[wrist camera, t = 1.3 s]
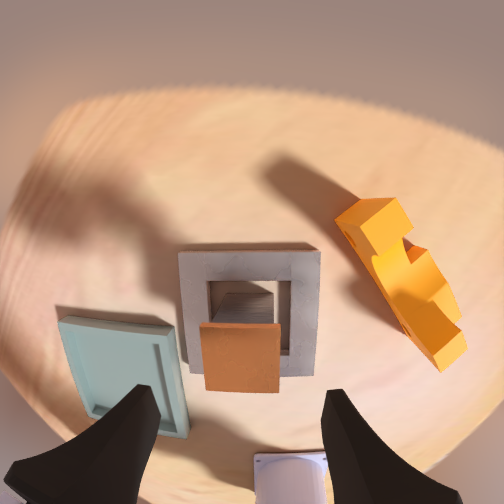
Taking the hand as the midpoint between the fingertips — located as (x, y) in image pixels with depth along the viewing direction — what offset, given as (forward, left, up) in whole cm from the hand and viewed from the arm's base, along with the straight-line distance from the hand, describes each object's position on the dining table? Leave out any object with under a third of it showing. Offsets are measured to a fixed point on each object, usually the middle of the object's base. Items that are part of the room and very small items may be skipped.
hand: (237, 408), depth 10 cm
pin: (0, 0, -11) cm, 11 cm away
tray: (-7, +12, -11) cm, 18 cm away
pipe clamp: (+3, -11, -12) cm, 16 cm away
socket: (0, 0, -11) cm, 11 cm away
